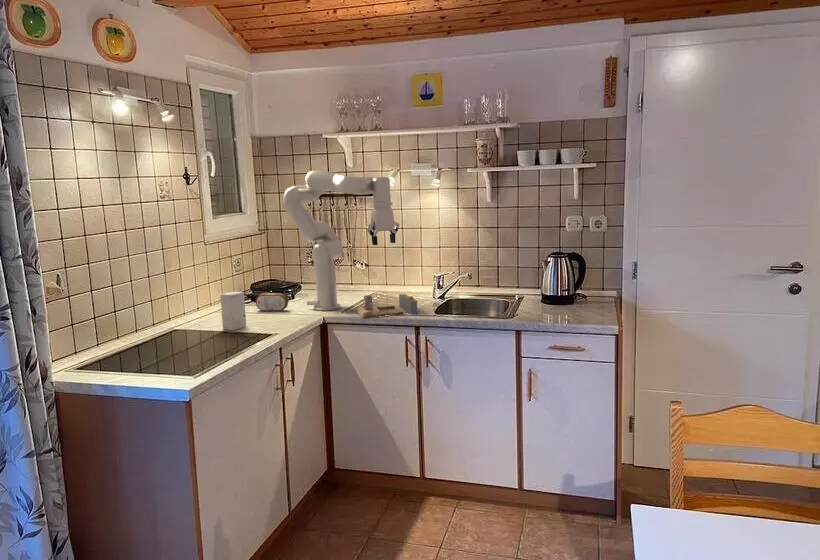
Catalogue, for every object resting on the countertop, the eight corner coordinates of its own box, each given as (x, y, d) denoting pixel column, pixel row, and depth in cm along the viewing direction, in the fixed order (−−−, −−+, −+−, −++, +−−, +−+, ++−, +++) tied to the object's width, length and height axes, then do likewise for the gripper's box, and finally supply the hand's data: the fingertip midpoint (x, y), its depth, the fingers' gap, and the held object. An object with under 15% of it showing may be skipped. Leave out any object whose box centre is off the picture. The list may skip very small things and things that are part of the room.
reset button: (409, 304, 283) (408, 297, 282) (407, 303, 285) (407, 296, 284) (413, 303, 283) (413, 296, 283) (412, 302, 285) (411, 296, 285)
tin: (288, 310, 297) (287, 292, 295) (287, 311, 294) (285, 293, 292) (257, 310, 298) (256, 292, 297) (255, 311, 295) (254, 294, 294)
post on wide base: (362, 316, 277) (362, 298, 275) (357, 311, 287) (356, 294, 286) (380, 315, 279) (379, 297, 278) (374, 310, 289) (373, 293, 288)
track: (363, 318, 275) (363, 315, 275) (356, 311, 289) (356, 309, 289) (403, 314, 280) (403, 312, 280) (394, 308, 294) (394, 305, 294)
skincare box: (232, 330, 259) (229, 295, 257) (222, 329, 262) (219, 294, 260) (247, 326, 266) (244, 291, 264) (236, 325, 269) (234, 290, 267)
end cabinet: (410, 314, 279) (410, 301, 278) (399, 307, 296) (399, 294, 295) (417, 314, 280) (417, 300, 279) (405, 306, 297) (405, 293, 296)
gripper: (393, 204, 287) (394, 241, 290) (361, 206, 277) (363, 245, 280) (403, 204, 281) (404, 242, 284) (370, 206, 271) (372, 246, 274)
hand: (383, 244), depth 282 cm, fingers open, 9 cm apart
